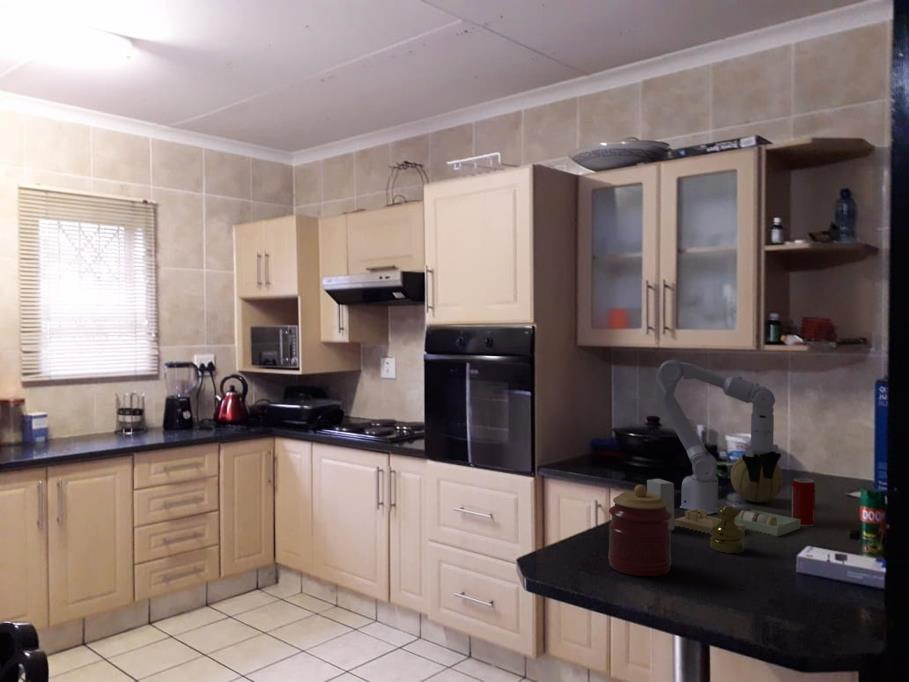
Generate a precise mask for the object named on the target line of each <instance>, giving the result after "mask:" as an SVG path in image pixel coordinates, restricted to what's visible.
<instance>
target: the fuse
mask: <svg viewBox="0 0 909 682" xmlns="http://www.w3.org/2000/svg"><path fill="white" fill-rule="evenodd" d="M739 518H740V519H744V520H749V521H753V522H758V523H762V524H767V525H771V526H776V525H777V519H776V517H772V516H767V515H762V514H758V513H753V512H749V511H748V510H745V509H744V510H743V509H742V510H741V511H739Z"/></svg>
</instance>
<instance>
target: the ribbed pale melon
mask: <svg viewBox="0 0 909 682" xmlns="http://www.w3.org/2000/svg"><path fill="white" fill-rule="evenodd" d="M758 456H759V458H760V455H758ZM730 482H731V484H732V488H733V489H734V491H735V492H736V494H737V495H739V496H740V497H741V498H742V499H744V500H746V501H748V502H750V503H751V502H752V503H766V502H770V501H772V500H773V499H775V498H776V497H777V496H778V495H779V494H780V492H781V491H782V487H783V483H784V476H783V472H782V469H781V467H780V466H779V464H778V463H777V464H776V467H775V470H774V474H773V478H772V479H767V478H764V476H763V468H762V467H761V473H760V480H759V482H758V483H757V482H751V481H750V478H749V473H748V469H747V467H746V464H745V462H744V460H743V459H742V455H741V456H740V457H739V458H738V459H737V460H736V461H734V463H733V465H732V467H731V470H730Z"/></svg>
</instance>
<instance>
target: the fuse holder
mask: <svg viewBox="0 0 909 682" xmlns="http://www.w3.org/2000/svg"><path fill="white" fill-rule="evenodd" d="M720 521H721V518H717V517H713V516H709V515H708V514H707V511H706V510H702V509H701V510H700V512H698V509H696V508H695V509H692V510H688V509H687V510H684V516H681V517H678V518H674V527H679V526H680V528H683V527H685V528H684V529H687V528H689V529H688V530H691V529H693V530H692V531H695V530H697V531H696V532H699V531H701V532H700V533H703V532H705V533H704V534H707V533H710V534H709V535H711V532H710V530H711V528H712V527H713V526H716V525H717V523H719V522H720ZM734 523H735V524H736V525H737V526H738V528H740V529H742V530H743V531H744V532H746V529H745V525H744V524H740V523H736V522H735V518H734Z"/></svg>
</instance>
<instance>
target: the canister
mask: <svg viewBox="0 0 909 682" xmlns="http://www.w3.org/2000/svg"><path fill="white" fill-rule="evenodd" d="M612 501H613V503H614V505H613V506H611V507H610V508H609V510H608V512H609V514H610V517H611V519H610V523H609V524H608V528H609V532H608V533H609V540H608V541H609V543H608V545H609V547H608V553H607V554H608V558H607V559H608V561H609V566H610V567H611V568H612V569H613V570H614V571H616V572H618V573H619V572H620V573H622V574H625V575H630V576H634V575H635V576H636V577H644V576H652V577H660V576H663V574H664V575H666V574H667V573H669V572H670V569H671V567H672V557H671V538H672V537H671V534H672V531H673V530H671V528H670V527H669V519H670V518H671V517H672V514H671V513H670V512H669V511H668V510H666V506H667V505H668V503H667V501H665V500H664V499H662V498H661V497H660V496H659V495H656V494H653V493H648V492H647V487H646V486H645V485H643V484H637V485H635V487H634V489H633V491H623V492H621V493H620V494H619V495H616V496H615V497H613V499H612ZM659 575H660V576H659Z"/></svg>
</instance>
